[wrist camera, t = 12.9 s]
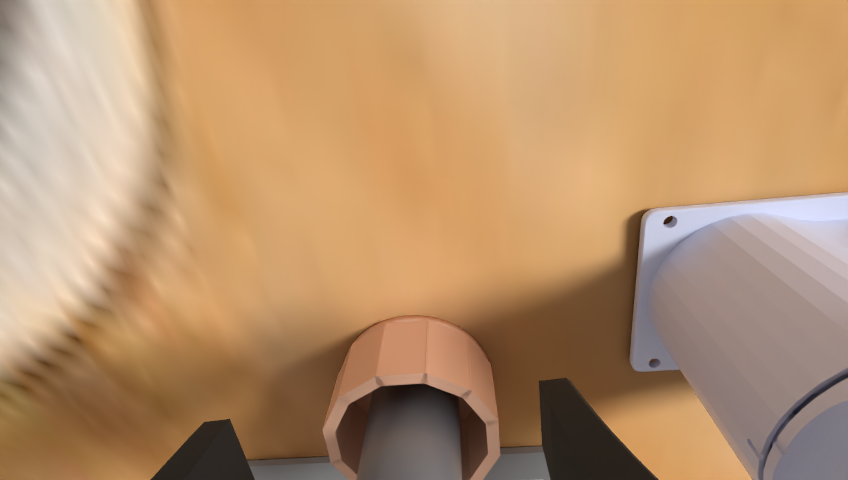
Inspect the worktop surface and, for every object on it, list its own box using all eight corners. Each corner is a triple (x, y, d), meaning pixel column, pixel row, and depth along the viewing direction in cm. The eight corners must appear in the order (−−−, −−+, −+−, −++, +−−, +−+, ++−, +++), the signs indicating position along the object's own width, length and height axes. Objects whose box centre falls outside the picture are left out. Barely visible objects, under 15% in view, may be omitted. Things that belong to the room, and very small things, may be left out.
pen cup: (487, 309, 22) (495, 368, 19) (494, 428, 25) (503, 498, 22) (329, 320, 23) (308, 379, 19) (355, 436, 26) (341, 505, 22)
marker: (454, 347, 23) (461, 574, 13) (461, 413, 24) (473, 654, 15) (368, 354, 23) (319, 580, 14) (381, 419, 25) (345, 658, 15)
